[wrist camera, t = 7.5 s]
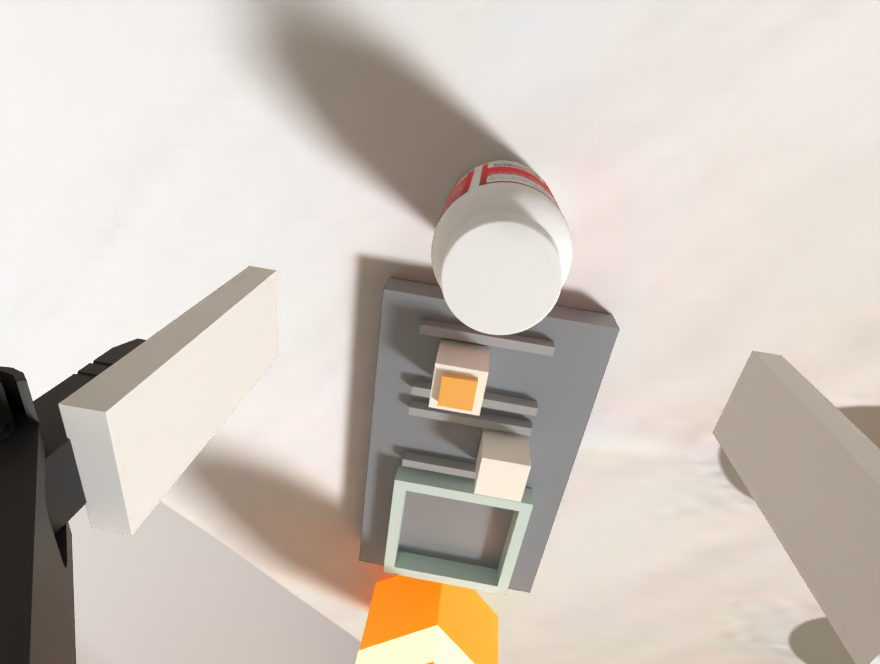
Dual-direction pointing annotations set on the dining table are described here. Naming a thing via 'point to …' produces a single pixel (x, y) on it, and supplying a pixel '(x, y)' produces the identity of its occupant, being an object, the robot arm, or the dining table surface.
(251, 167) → the dining table surface
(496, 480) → the toggle plain
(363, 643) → the orange juice
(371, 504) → the panel
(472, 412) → the block
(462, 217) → the pill bottle
